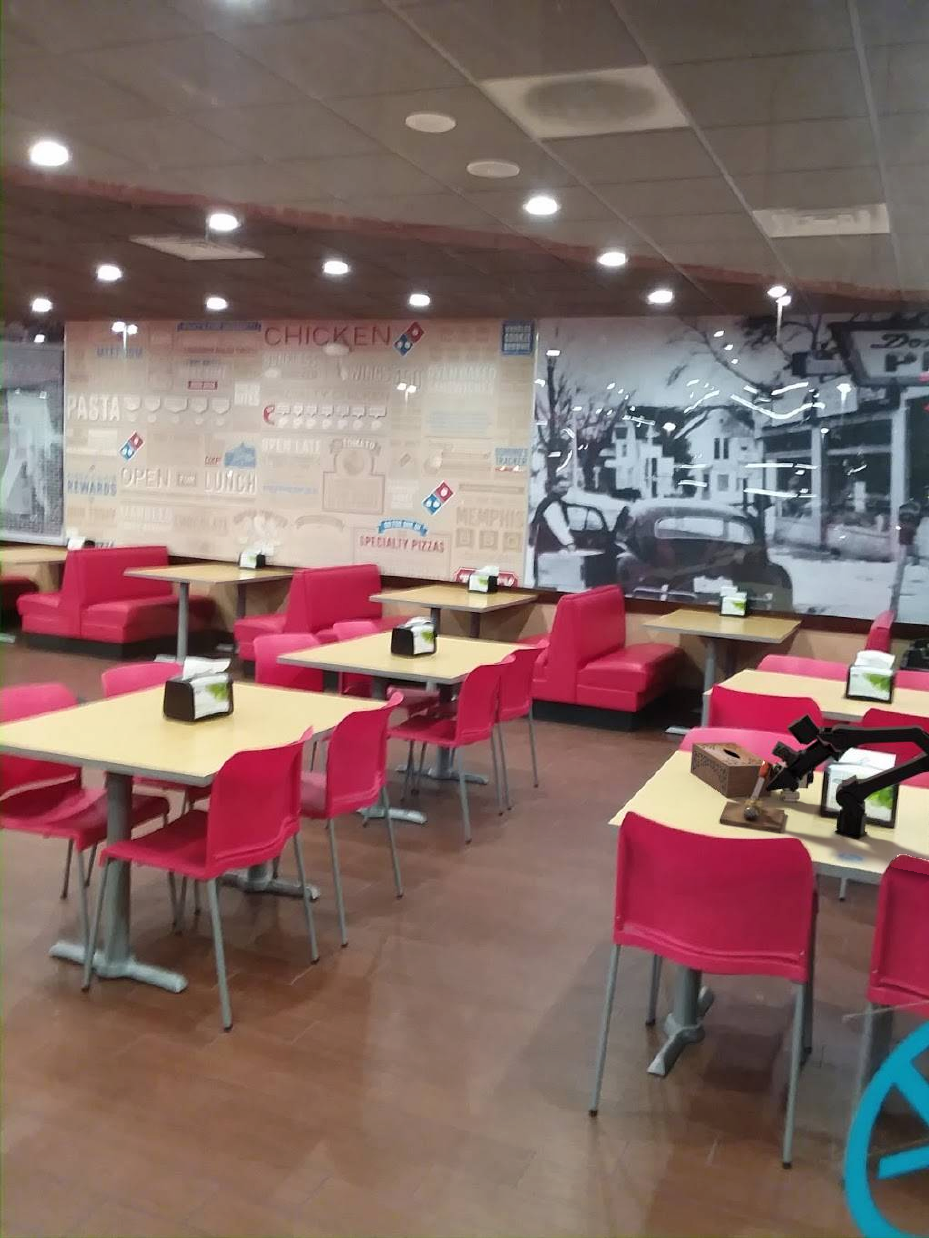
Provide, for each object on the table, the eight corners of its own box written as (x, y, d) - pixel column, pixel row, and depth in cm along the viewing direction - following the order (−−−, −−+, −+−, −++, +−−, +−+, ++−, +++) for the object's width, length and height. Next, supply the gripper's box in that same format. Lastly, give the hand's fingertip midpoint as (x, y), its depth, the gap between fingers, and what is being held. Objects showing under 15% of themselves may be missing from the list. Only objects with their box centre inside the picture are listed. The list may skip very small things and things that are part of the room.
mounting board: (784, 813, 292) (784, 809, 292) (779, 832, 277) (780, 828, 277) (726, 805, 298) (727, 801, 298) (719, 822, 282) (719, 818, 282)
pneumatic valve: (811, 804, 302) (815, 764, 300) (771, 801, 303) (774, 762, 301) (806, 798, 308) (810, 759, 306) (766, 796, 308) (770, 757, 307)
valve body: (762, 810, 292) (764, 791, 291) (758, 823, 281) (760, 803, 280) (746, 808, 294) (748, 788, 293) (742, 821, 283) (743, 800, 282)
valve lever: (757, 801, 288) (772, 762, 285) (756, 804, 285) (772, 765, 282) (748, 798, 288) (763, 759, 286) (747, 800, 286) (763, 761, 283)
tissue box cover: (690, 773, 330) (692, 742, 329) (731, 772, 333) (734, 742, 331) (726, 798, 305) (728, 766, 304) (770, 797, 308) (773, 765, 307)
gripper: (794, 726, 289) (750, 758, 295) (789, 742, 272) (743, 775, 277) (820, 757, 288) (776, 789, 293) (817, 775, 270) (770, 808, 276)
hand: (766, 790), depth 285 cm, fingers closed
